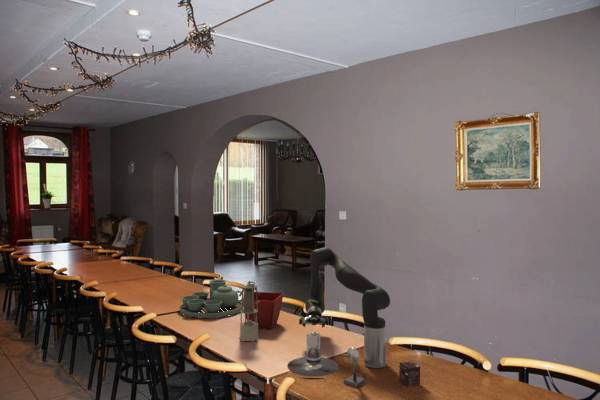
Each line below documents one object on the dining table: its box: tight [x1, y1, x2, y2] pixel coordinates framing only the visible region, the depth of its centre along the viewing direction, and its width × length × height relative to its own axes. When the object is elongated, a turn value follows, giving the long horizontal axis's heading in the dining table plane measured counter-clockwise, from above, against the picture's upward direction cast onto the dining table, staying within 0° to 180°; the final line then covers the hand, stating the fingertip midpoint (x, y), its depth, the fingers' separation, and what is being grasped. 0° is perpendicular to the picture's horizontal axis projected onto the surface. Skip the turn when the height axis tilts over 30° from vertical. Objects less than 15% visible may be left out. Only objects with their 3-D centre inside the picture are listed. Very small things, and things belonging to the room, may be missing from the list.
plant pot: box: [243, 291, 284, 330], centre depth 259 cm, size 19×19×17 cm
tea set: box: [179, 278, 242, 319], centre depth 291 cm, size 40×40×16 cm
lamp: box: [238, 280, 260, 342], centre depth 234 cm, size 10×13×30 cm
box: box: [398, 360, 421, 387], centre depth 183 cm, size 6×6×7 cm
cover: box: [305, 331, 322, 362], centre depth 203 cm, size 6×6×12 cm
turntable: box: [287, 356, 340, 380], centre depth 196 cm, size 22×22×1 cm
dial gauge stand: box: [341, 346, 366, 388], centre depth 183 cm, size 9×6×14 cm, turn 50°
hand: (313, 325), depth 214 cm, fingers open, 8 cm apart
